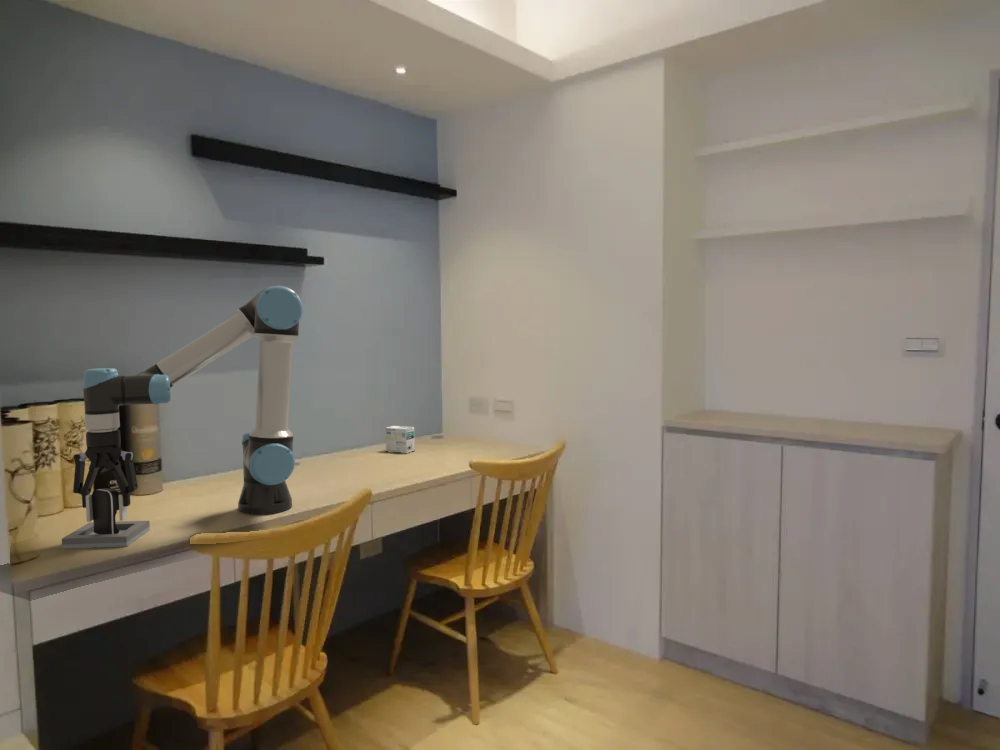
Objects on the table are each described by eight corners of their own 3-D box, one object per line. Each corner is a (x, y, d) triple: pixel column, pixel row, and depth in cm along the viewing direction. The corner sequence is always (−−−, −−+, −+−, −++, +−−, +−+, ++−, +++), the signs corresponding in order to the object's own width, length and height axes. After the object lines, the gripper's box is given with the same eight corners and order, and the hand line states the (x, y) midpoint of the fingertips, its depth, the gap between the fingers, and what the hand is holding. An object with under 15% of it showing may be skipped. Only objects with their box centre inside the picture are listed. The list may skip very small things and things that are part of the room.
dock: (149, 529, 184) (149, 520, 184) (126, 546, 170) (126, 536, 170) (90, 531, 182) (89, 522, 182) (62, 548, 169) (61, 538, 168)
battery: (124, 533, 176) (122, 489, 176) (110, 537, 173) (108, 492, 172) (107, 529, 180) (105, 486, 179) (92, 533, 176) (90, 489, 175)
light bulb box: (415, 451, 298) (415, 426, 298) (407, 454, 292) (406, 428, 291) (394, 449, 303) (393, 425, 302) (385, 452, 296) (385, 427, 296)
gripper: (150, 426, 179) (154, 514, 181) (68, 428, 177) (73, 516, 179) (138, 431, 172) (142, 522, 173) (52, 433, 170) (57, 525, 171)
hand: (107, 519), depth 176 cm, fingers closed on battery, 7 cm apart
